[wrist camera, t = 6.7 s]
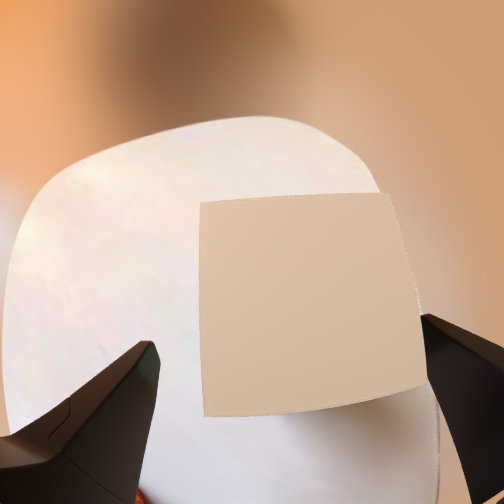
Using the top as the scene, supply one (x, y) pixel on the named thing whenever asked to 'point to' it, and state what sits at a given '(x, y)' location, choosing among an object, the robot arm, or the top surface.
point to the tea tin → (305, 304)
